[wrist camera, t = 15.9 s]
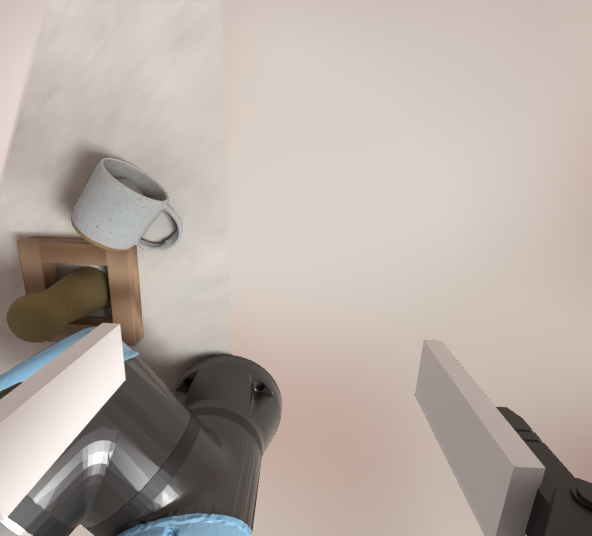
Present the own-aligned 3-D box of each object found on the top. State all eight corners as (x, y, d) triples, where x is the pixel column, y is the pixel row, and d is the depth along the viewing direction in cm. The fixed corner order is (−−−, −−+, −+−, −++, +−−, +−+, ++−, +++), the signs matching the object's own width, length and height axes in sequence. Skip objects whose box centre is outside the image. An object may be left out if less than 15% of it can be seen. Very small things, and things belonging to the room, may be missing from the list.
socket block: (143, 336, 47) (134, 345, 44) (48, 331, 47) (34, 340, 44) (136, 242, 43) (126, 246, 41) (33, 237, 43) (17, 240, 41)
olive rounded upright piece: (120, 305, 46) (65, 345, 35) (78, 314, 46) (11, 356, 36) (103, 261, 44) (39, 290, 34) (60, 272, 45) (-17, 303, 34)
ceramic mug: (91, 211, 42) (47, 221, 35) (124, 156, 41) (85, 154, 33) (164, 263, 44) (137, 282, 37) (200, 212, 42) (179, 222, 35)
